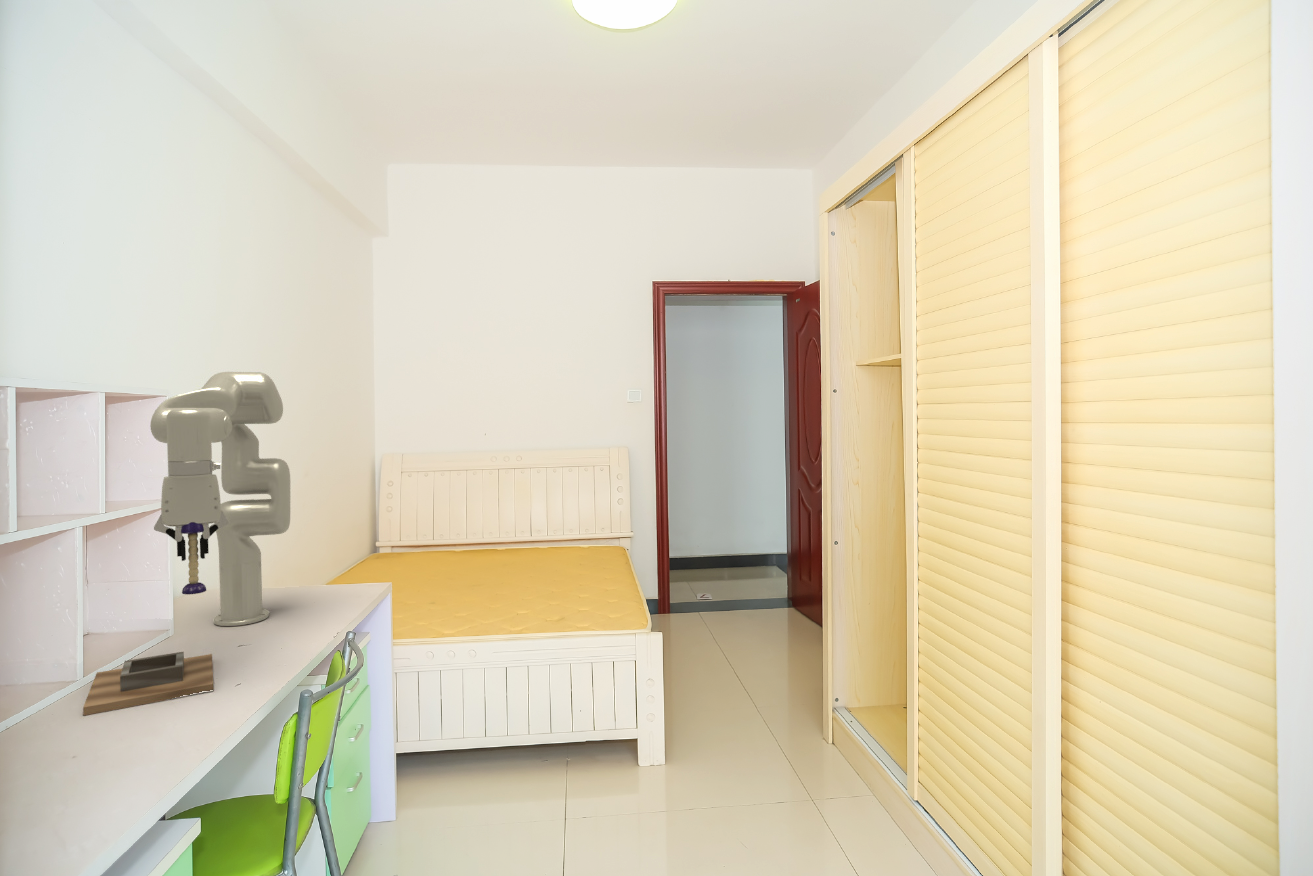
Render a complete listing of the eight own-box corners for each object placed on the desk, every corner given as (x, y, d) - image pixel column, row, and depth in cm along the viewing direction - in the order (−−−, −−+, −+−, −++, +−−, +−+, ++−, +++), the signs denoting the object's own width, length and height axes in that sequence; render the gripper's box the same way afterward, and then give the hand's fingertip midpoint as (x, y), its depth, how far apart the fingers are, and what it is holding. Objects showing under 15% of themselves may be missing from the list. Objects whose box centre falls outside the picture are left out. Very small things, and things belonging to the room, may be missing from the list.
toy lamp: (213, 590, 146) (210, 510, 145) (192, 596, 141) (189, 514, 140) (196, 588, 147) (193, 509, 146) (174, 594, 143) (171, 513, 142)
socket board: (97, 679, 144) (96, 658, 144) (212, 660, 155) (211, 640, 155) (83, 715, 127) (82, 691, 127) (213, 691, 138) (212, 668, 138)
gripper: (235, 466, 151) (237, 550, 151) (141, 470, 141) (144, 560, 142) (237, 468, 144) (240, 557, 145) (140, 473, 135) (143, 567, 136)
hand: (193, 557), depth 144 cm, fingers closed on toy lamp, 2 cm apart
